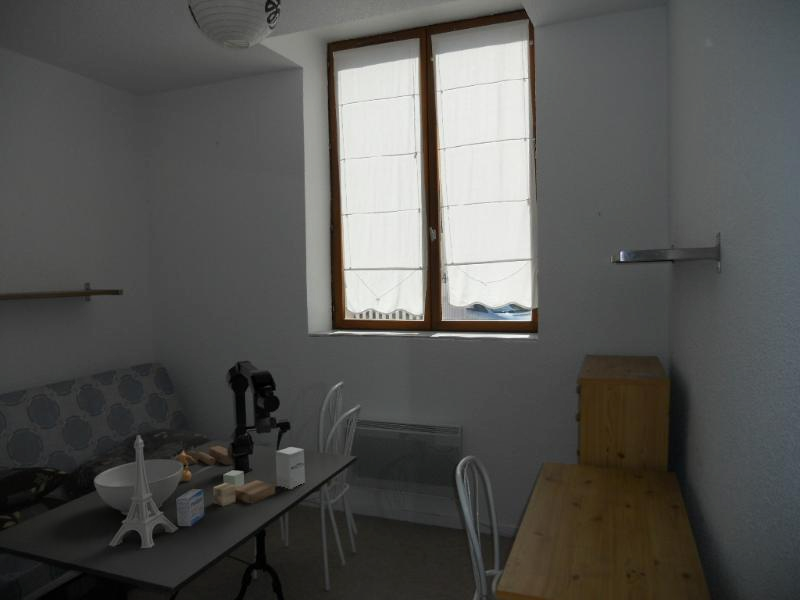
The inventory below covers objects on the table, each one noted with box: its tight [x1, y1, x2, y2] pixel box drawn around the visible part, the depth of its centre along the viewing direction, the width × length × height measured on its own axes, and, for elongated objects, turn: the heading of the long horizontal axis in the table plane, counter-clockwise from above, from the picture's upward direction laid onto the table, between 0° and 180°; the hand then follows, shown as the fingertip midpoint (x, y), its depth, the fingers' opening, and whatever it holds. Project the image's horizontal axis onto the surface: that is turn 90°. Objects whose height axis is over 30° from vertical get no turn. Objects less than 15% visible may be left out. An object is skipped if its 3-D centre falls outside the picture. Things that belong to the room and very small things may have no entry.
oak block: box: [212, 482, 237, 507], centre depth 190 cm, size 5×5×6 cm
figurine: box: [173, 450, 195, 483], centre depth 211 cm, size 8×6×12 cm
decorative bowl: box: [93, 458, 184, 516], centre depth 187 cm, size 27×27×12 cm
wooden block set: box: [179, 445, 233, 466], centre depth 232 cm, size 17×6×18 cm
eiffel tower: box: [108, 434, 179, 549], centre depth 165 cm, size 13×13×30 cm
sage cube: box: [222, 469, 245, 488], centre depth 204 cm, size 5×5×5 cm
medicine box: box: [175, 488, 205, 527], centre depth 175 cm, size 8×4×9 cm, turn 168°
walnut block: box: [235, 479, 276, 505], centre depth 194 cm, size 10×10×4 cm
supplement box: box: [275, 446, 306, 490], centre depth 203 cm, size 7×7×13 cm
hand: (263, 451), depth 198 cm, fingers open, 9 cm apart
